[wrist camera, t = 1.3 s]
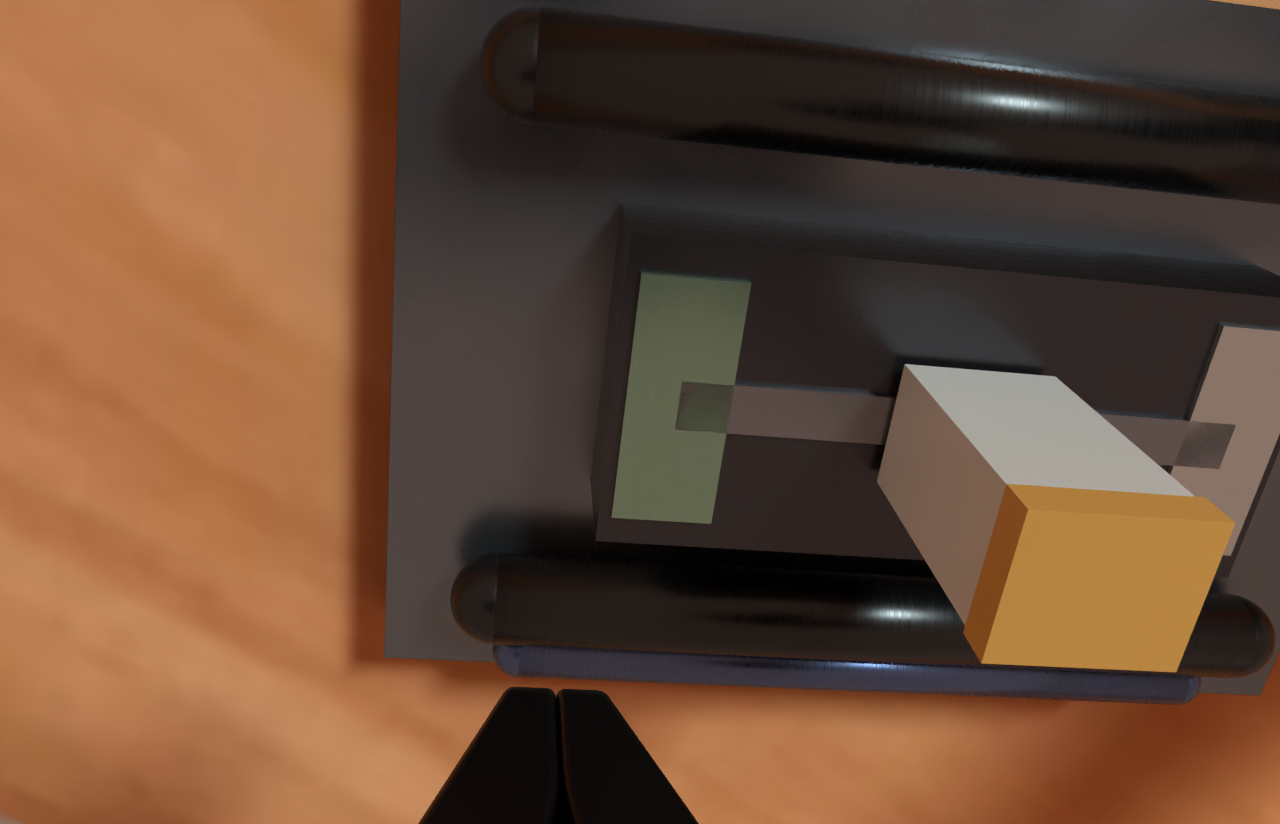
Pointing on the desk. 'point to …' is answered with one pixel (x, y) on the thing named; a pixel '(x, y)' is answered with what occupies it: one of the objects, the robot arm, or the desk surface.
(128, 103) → the desk surface
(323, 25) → the desk surface
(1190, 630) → the lever
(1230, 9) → the panel
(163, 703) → the desk surface
